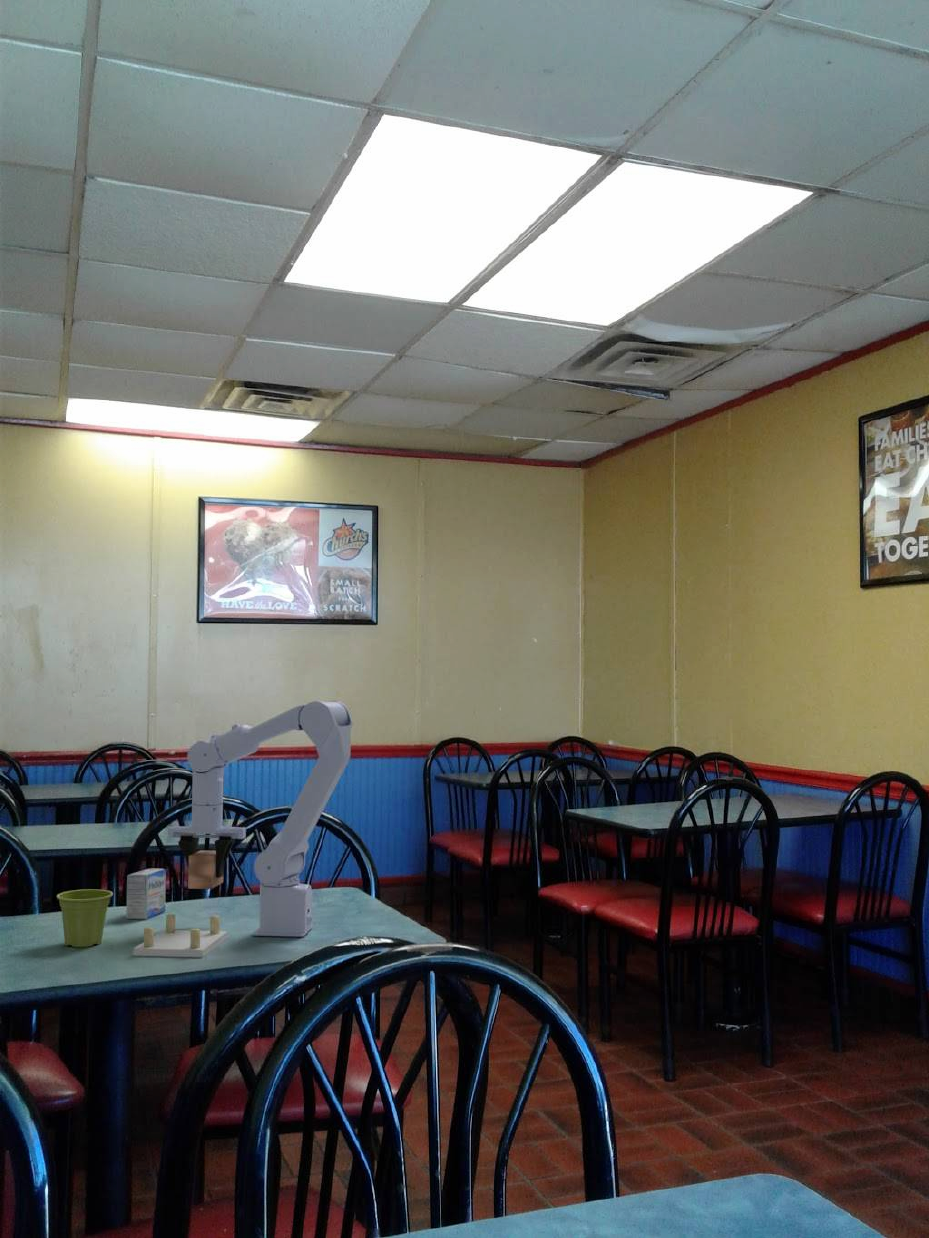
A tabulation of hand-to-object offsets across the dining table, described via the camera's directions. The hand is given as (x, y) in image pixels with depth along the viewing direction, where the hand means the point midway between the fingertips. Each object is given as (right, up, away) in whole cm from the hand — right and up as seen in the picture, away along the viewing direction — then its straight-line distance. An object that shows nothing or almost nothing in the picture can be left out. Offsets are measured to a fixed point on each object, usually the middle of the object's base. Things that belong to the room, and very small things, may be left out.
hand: (206, 876), depth 203 cm
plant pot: (-18, -9, -14) cm, 25 cm away
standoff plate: (0, -8, -16) cm, 18 cm away
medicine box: (-14, -10, +10) cm, 20 cm away
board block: (0, -2, 0) cm, 2 cm away
